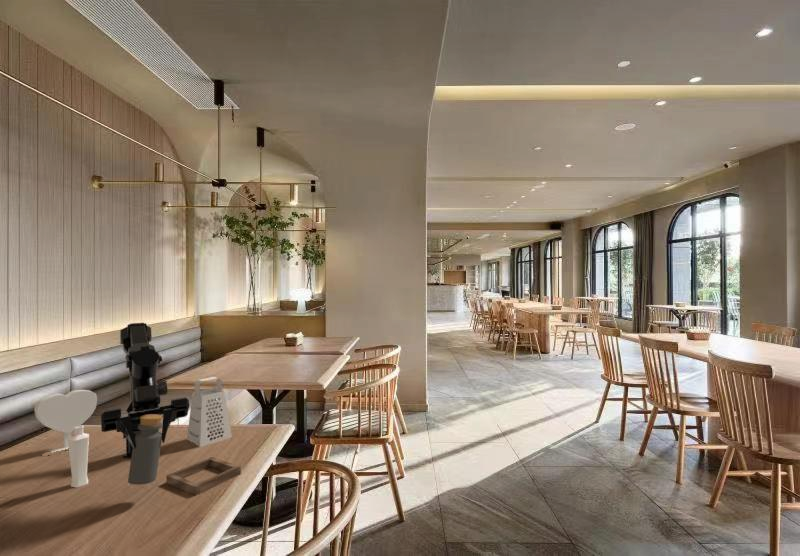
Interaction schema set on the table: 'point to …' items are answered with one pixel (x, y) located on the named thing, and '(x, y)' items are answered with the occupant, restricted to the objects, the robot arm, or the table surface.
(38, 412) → the heart sculpture
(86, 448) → the perfume bottle
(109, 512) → the table surface
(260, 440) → the table surface
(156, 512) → the table surface
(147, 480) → the bottle
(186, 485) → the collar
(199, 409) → the grater
